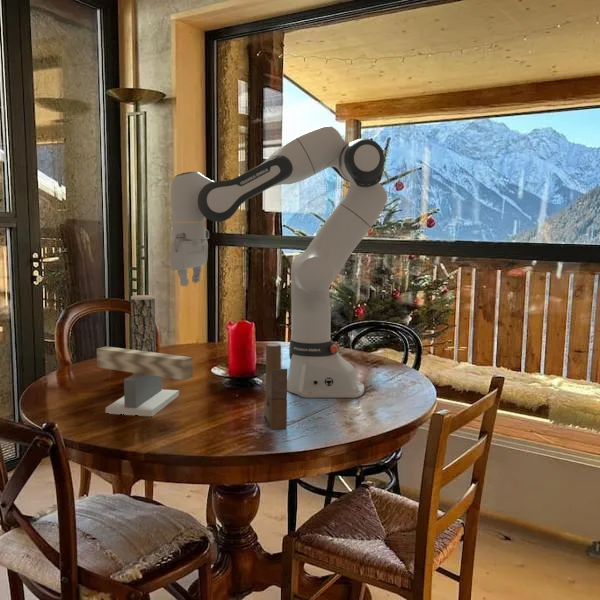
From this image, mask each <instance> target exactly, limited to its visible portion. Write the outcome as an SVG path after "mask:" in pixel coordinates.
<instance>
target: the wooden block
mask: <svg viewBox="0 0 600 600" xmlns="http://www.w3.org/2000/svg"><path fill="white" fill-rule="evenodd" d="M281 348H282V346H281V344H279V343H268V344H266V346H265V401H264V403H263V405H264V411H263V412H264V416H265V419H266V421H267V423H268V425H269V428H271V430H274V431H275V430H286V429H287V428H288V427H287V426H288V399H287V398H288V391H287V379H288V369H287V368H281V367H282V365H281V364H282V349H281Z"/></svg>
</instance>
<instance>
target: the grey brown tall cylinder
mask: <svg viewBox="0 0 600 600" xmlns="http://www.w3.org/2000/svg"><path fill="white" fill-rule="evenodd" d="M155 302H156V299H155V295H150V294H148V295H147V294H143V295H142V294H140V295H132V296H130V317H131V319H130V321H131V322H130V323H131V324H130V325H131V350H139V351H147V352H154V353H157V352H156V351H157V350H156V347H157V346H156V306H155V305H156V303H155ZM133 374H135V373H132V375H133Z"/></svg>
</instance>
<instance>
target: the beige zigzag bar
mask: <svg viewBox="0 0 600 600" xmlns="http://www.w3.org/2000/svg"><path fill="white" fill-rule="evenodd" d="M96 367H97V368H100V369H106V370H113V371H120V372H121V371H122V372H125V373H132V374H133V373H139V374H146V375H152V376H159V377H161V378H168V379H174V380H180V381H186V380H189V379H191V378H193V370H194V369H193V357H191V356H186V355H185V356H184V355H183V356H182V355H178V354H168V353H163V352H162V353H161V352H156V353H154V352H147V351H139V350H132V348H131V349H130V348H121V347H116V346H115V347H114V346H102V347H99V348H96Z"/></svg>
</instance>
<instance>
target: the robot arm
mask: <svg viewBox="0 0 600 600" xmlns="http://www.w3.org/2000/svg"><path fill="white" fill-rule="evenodd" d="M384 153H385V152H384V150H383V148H382V146H381V145H380V144H379V143H378V142H376V141H375V140H373V139H370V138H358V139H356V140H353V141H350V142H348V141H345V139H343V138H342V135H341V133H340V132H339V131H338V130H337V129H336V128H335V127H333V126H331V125H323V126H320V127H316V128H313V129H311V130H308V131H306V132H304V133H301V134H300V135H297V136H296V137H294V138H292V139H291V140H289V141H287V142H286V143H284V144H283V145H282V146H280V147H279V148H278V149H277V150H275V151H274V152H273V153H272V154H271V155H270V156H269V157H268V158H267V159H266V160H264V161H263V162H262V163H261V164H259V165H257V166H254V167H253V168H251V169H250V170H248V171H246V172H244V173H241V174H239V175H238V176H236V177H234V178H232V179H229V180H228V179H227V180H213V179H212V180H211V179H210V178H208V177H206V176H205V175H204V174H202V173H201V172H199V171H187V172H182V173H180V174H177V175H175V176H174V177H173V179H172V181H171V185H170V186H171V187H170V208H171V212H172V218H171V239H172V242H171V245H170V260H169V261H170V263H169V264H170V267H171V270H172V271H177V275H178V279H179V280H180V282H179V284H180V286H181V287H188V286H190V285H189V284H190V282H189V281H190V279H189V278H188V270H189V269H192V271H193V272H192V273H193V274H192V275H191V281H192V283H195V284H197V283H199V282H200V281H201V273H202V266H205V265H207V263H208V257H209V256H208V254H209V251H208V250H209V243H208V239H210V231H209V230H208V229H207V228H206V219H207V220H209V221H212V222H215V223H221V222H225V221H227V220H229V219H231V218H232V217H233V216H234V215H235V214H236V213H237V211H238V209H239V207H240V206H241V205H242V204H244V203H245V202H246V201H248V200H249V199H252V198H253V197H255V196H257V195H259V194H261V193H263V192H265V191H267V190H268V189H270V188H273V187H277V186H281V185H292V184H295V183H299V182H301V181H304V180H306V179H308V178H311V177H313V176H315V175H316V174H318V173H320V172H322V171H324V170H326V169H328V168H332V169H333V171H334V172H336V174H337V175H338V176H339V177H341V179H343V180H344V181H346V182H349V186H348V188H349V189H348V191H347V193H346V195H345V196H344V197H343V199H341V201H340V202H339V203H338V205H337V206H336V207H335V209H334V210H333V211H332V212H331V214H330V215H329V216H328V218H326V220H325V222H324V223H323V224H322V225H321V227H320V229H319V230H318V231H317V233H316V234H315V235H314V237H313V239H312V241H310V243H309V245H308V246H307V247H306V249H305V251H302V252H300V253H299V254H298V255H296V256H295V258H294V259H293V261H292V263H291V266H290V296H291V297H290V298H291V299H290V300H291V301H290V302H291V304H290V305H291V329H290V330H291V332H290V333H291V334H290V335H291V339H290V340H289V346H288V347H289V348H288V351H289V352H288V353H289V355H288V356H289V359H290V361H289V369H288V370H289V371H288V373H287V392H288V393H292V394H296V395H298V396H299V397H301V398H312V399H313V398H317V399H319V398H322V399H323V398H325V399H327V398H331V399H332V398H334V399H335V398H337V399H338V398H339V399H340V398H341V399H344V398H350V399H351V398H359V397H361V396H362V395H364V393H365V385H364V384H363V383H362V382H361V381H358V377H357V372H356V369H355V367H354V366H353V365H352V364H351V363H349V362H348V361H347V360H346V359H344V358H343V357H342V356H341V355H340V354H339V353H338V349H339V347H338V342H337V341H333V340H332V339H331V327H332V325H331V323H332V322H331V320H332V312H331V298H330V297H331V296H330V286H331V284H332V283H333V282H334V280H335V279H336V278H337V277H338V275H339V274H340V272H341V271H342V269H343V267H344V266H345V264H346V263H347V261H348V259H349V258H350V256H351V255H352V253H353V252H354V250H355V249H356V247H357V246H358V245H359V244H360V243H361V241H362V240H363V238H365V236H366V235H367V233H368V232H369V231H370V229H371V228H372V227H373V225H374V224H375V223H376V221H377V220H378V218H379V217H380V215H381V213H382V212H383V209H385V207H386V204H387V202H388V193H387V191H386V189H385V188H384V186H383V185H382V184H381V183H380V182H381V180H382V177H383V176H382V175H383V170H384V166H385V165H384V164H385V154H384Z"/></svg>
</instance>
